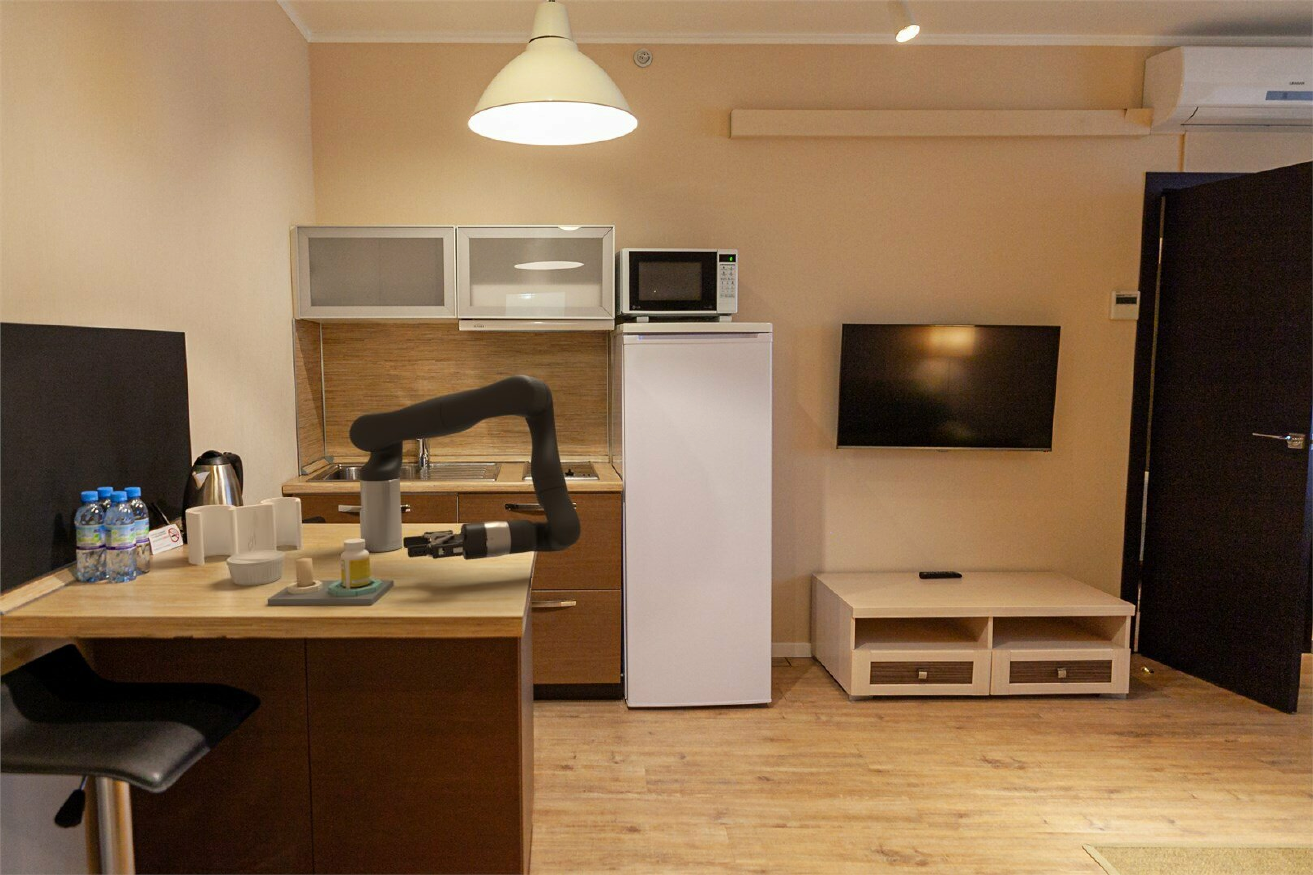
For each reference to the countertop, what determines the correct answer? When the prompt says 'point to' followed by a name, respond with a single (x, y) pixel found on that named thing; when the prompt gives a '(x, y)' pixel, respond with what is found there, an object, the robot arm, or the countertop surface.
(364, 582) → the supplement bottle
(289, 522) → the bracket
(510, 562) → the countertop surface
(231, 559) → the ramekin
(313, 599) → the socket board
